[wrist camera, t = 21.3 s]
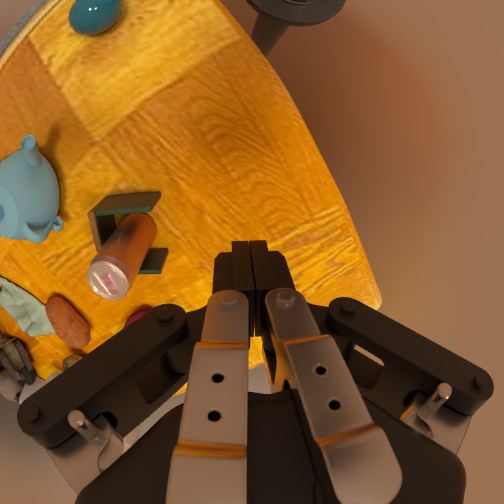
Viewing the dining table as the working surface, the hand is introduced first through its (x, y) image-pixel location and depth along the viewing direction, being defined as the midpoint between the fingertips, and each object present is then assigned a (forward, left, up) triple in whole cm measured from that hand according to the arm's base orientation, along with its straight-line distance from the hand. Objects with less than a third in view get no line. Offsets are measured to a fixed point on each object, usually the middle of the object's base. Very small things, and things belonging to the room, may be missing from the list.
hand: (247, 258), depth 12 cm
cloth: (+57, -27, -29) cm, 69 cm away
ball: (-9, -30, -29) cm, 43 cm away
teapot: (+20, -28, -29) cm, 45 cm away
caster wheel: (+87, -20, -26) cm, 93 cm away
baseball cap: (+108, -31, -18) cm, 114 cm away
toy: (+76, -24, -22) cm, 83 cm away
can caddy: (+18, -6, -29) cm, 35 cm away
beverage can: (+18, -6, -29) cm, 35 cm away
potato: (+47, -12, -29) cm, 57 cm away
